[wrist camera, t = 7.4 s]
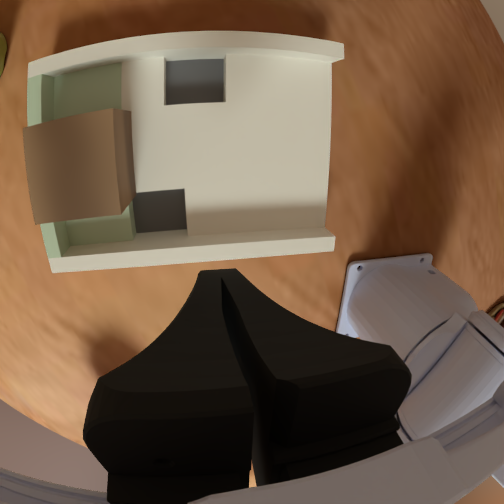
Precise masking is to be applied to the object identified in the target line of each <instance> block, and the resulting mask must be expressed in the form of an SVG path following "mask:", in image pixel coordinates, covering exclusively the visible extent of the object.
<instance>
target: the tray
mask: <svg viewBox="0 0 504 504" xmlns="http://www.w3.org/2000/svg"><path fill="white" fill-rule="evenodd" d="M342 59H344V44H343V43H338V42H333V41H328V40H322V39H316V38H310V37H303V36H295V35H287V34H277V33H265V32H249V31H189V32H173V33H161V34H152V35H144V36H136V37H129V38H123V39H117V40H112V41H106V42H101V43H97V44H92V45H88V46H83V47H79V48H75V49H72V50H68V51H64V52H61V53H57V54H54V55H51V56H47V57H44V58H41V59H38V60H35V61H32V62H30V63H29V65H28V85H27V118H28V127H29V126H32V125H36V124H40V123H43V122H47V121H51V120H55V119H60V118H64V117H68V116H73V115H78V114H83V113H88V112H93V111H99V110H104V109H111V108H115V109H121V110H127V111H131V120H132V144H133V160H134V173H135V185H136V196H135V197H134V199H133V200H132V201H131V203H130V204H129V205H128V206H127V208H126V209H125V210H124V212H123V213H122V214H121V215H113V216H104V217H94V218H85V219H77V220H68V221H60V222H52V223H44V224H40V226H41V230H42V235H43V239H44V244H45V248H46V252H47V256H48V259H49V263H50V267H51V270H52V273H59V272H73V271H87V270H100V269H114V268H127V267H141V266H154V265H167V264H180V263H193V262H206V261H218V260H231V259H243V258H256V257H268V256H280V255H292V254H304V253H316V252H328V251H334V244H335V236H334V235H333V234H332V233H331V232H330V231H328V230H327V229H326V228H325V218H326V206H327V192H328V177H329V160H330V137H331V96H332V64H331V63H333V62H336V61H339V60H342Z"/></svg>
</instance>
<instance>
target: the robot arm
mask: <svg viewBox="0 0 504 504" xmlns="http://www.w3.org/2000/svg"><path fill="white" fill-rule="evenodd" d="M432 259H433V256H432V255H431V254H430V253H425V254H417V255H408V256H399V257H391V258H381V259H372V260H363V261H354V262H351V263H350V264H349V265H348V267H347V273H346V280H345V286H344V291H343V297H342V303H341V308H340V313H339V318H338V323H337V328H336V332H334V331H331V330H328V329H325V328H323V327H321V326H318V325H316V324H313V323H311V322H309V321H307V320H305V319H303V318H301V317H299V316H297V315H295V314H293V313H292V312H290V311H288V310H286V309H285V308H283V307H282V306H280V305H279V304H277V303H276V302H274V301H273V300H271V299H270V298H269V297H267V296H266V295H265V294H263V293H262V292H261V291H260V290H259V289H257V288H256V287H255V286H254V285H253V284H252V283H251V282H250V281H249V280H247V279H246V278H245V277H244V276H243V275H242V274H241V273H240V272H239V271H238V270H237V269H236V268H234V269H219V270H202V271H200V272H199V273H198V277H197V280H196V283H195V285H194V288H193V290H192V291H191V293H190V295H189V297H188V299H187V301H186V302H185V304H184V305H183V307H182V308H181V310H180V311H179V313H178V314H177V316H176V317H175V318H174V320H173V321H172V322H171V323H170V325H169V326H168V327H167V328H166V329H165V330H164V331H163V332H162V333H161V335H160V336H159V337H158V338H157V339H156V340H155V341H154V342H152V343H151V344H150V345H149V346H148V347H147V348H145V349H144V350H143V351H142V352H140V353H139V354H138V355H136V356H135V357H133V358H132V359H131V360H129V361H128V362H126V363H125V364H123V365H121V366H119V367H118V368H116V369H114V370H113V371H111V372H109V373H107V374H106V375H104V376H102V377H100V378H98V381H97V383H96V386H95V388H94V391H93V393H92V395H91V398H90V401H89V404H88V409H87V413H86V418H85V423H84V428H83V440H84V442H85V443H86V445H87V447H88V448H89V450H90V451H91V452H92V453H93V455H94V456H95V457H96V458H97V460H98V461H99V462H100V463H101V464H102V466H103V467H104V468H105V469H106V470H107V471H108V485H107V493H106V492H98V491H91V490H85V489H79V488H74V487H68V486H64V485H59V484H54V483H50V482H46V481H42V480H38V479H35V478H31V477H28V476H24V475H21V474H18V473H15V472H12V471H9V470H6V469H3V468H0V504H454V503H455V502H457V501H458V500H460V499H461V498H462V497H464V496H465V495H467V494H468V493H469V492H471V491H472V490H473V489H474V488H476V487H477V486H478V485H480V484H481V483H482V482H484V481H485V480H486V479H487V478H488V477H490V476H491V475H492V477H493V478H495V480H496V481H498V483H499V484H500V485H502V487H503V488H504V328H503V327H502V326H501V325H499V324H498V323H497V322H496V321H495V320H494V319H493V318H491V317H490V316H489V315H488V314H487V313H486V312H484V311H483V310H479V311H478V308H477V306H476V303H475V301H474V300H473V298H472V297H471V295H470V294H469V293H468V292H466V291H465V290H464V289H463V288H461V287H460V286H459V285H458V284H456V283H455V282H454V281H452V280H451V279H450V278H448V277H447V276H446V275H444V274H443V273H442V272H440V271H439V270H438V269H436V268H435V267H434V266H432V265H431V263H432ZM359 266H360V268H359V269H357V268H358V267H359ZM345 334H346V335H345ZM355 337H360V339H357V338H355ZM251 461H252V464H253V469H254V474H255V480H256V485H257V487H251V488H249V473H250V470H251Z"/></svg>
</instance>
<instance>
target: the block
mask: <svg viewBox="0 0 504 504" xmlns="http://www.w3.org/2000/svg"><path fill="white" fill-rule="evenodd" d="M23 140H24V153H25V163H26V172H27V180H28V187H29V194H30V200H31V205H32V211H33V216H34V221H35V225H37V224H44V223H52V222H60V221H68V220H77V219H85V218H94V217H104V216H113V215H121V214H122V213H123V212H124V210H125V209H126V208H127V206H128V205H129V204H130V203H131V201H132V200H133V199H134V197H135V196H136V185H135V173H134V160H133V144H132V120H131V111H127V110H121V109H115V108H111V109H104V110H99V111H93V112H88V113H83V114H78V115H73V116H68V117H64V118H60V119H55V120H51V121H47V122H43V123H40V124H36V125H32V126H29V127H25V128H23Z"/></svg>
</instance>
